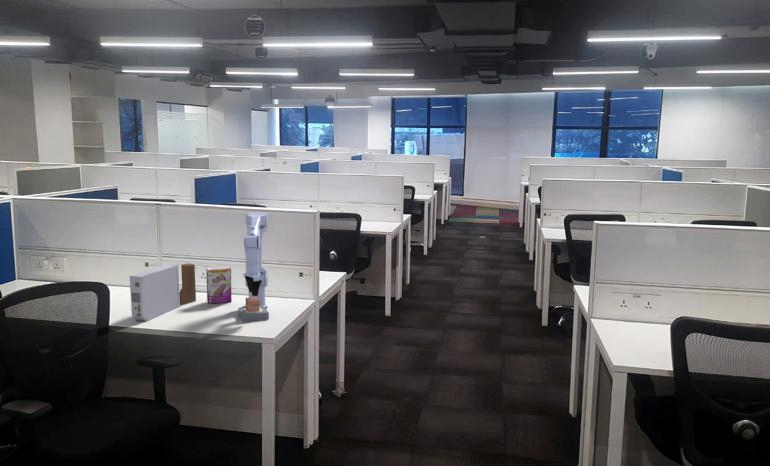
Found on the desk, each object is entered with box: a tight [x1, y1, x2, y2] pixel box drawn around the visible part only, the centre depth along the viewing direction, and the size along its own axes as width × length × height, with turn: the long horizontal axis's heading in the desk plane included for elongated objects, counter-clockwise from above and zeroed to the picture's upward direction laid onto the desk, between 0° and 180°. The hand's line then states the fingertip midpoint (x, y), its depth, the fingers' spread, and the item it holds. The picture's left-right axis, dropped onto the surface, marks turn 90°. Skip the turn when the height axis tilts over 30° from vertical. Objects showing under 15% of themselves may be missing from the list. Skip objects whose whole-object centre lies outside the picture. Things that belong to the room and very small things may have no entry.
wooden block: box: [179, 263, 197, 306], centre depth 286 cm, size 9×4×18 cm, turn 147°
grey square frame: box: [237, 306, 270, 323], centre depth 264 cm, size 11×11×3 cm
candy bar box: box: [205, 266, 233, 304], centre depth 288 cm, size 11×5×16 cm, turn 111°
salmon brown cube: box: [245, 297, 260, 312], centre depth 264 cm, size 5×5×5 cm
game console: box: [129, 263, 181, 322], centre depth 267 cm, size 6×27×20 cm, turn 164°
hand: (253, 293), depth 263 cm, fingers open, 7 cm apart
